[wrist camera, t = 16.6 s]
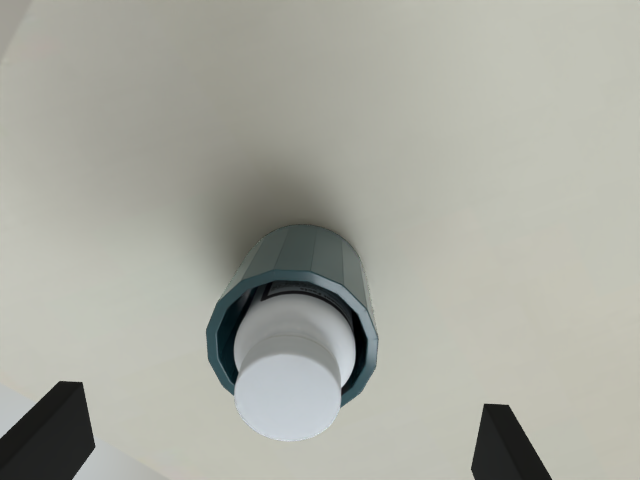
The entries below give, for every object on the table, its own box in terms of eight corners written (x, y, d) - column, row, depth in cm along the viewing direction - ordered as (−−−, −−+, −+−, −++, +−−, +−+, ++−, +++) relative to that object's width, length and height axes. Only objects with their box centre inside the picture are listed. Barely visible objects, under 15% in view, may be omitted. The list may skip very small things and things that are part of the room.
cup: (240, 221, 23) (200, 266, 16) (369, 226, 22) (384, 274, 16) (244, 334, 25) (211, 414, 18) (361, 339, 25) (371, 422, 18)
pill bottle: (308, 341, 25) (291, 479, 15) (243, 287, 24) (183, 400, 14) (369, 286, 23) (391, 400, 14) (303, 226, 22) (280, 306, 13)
